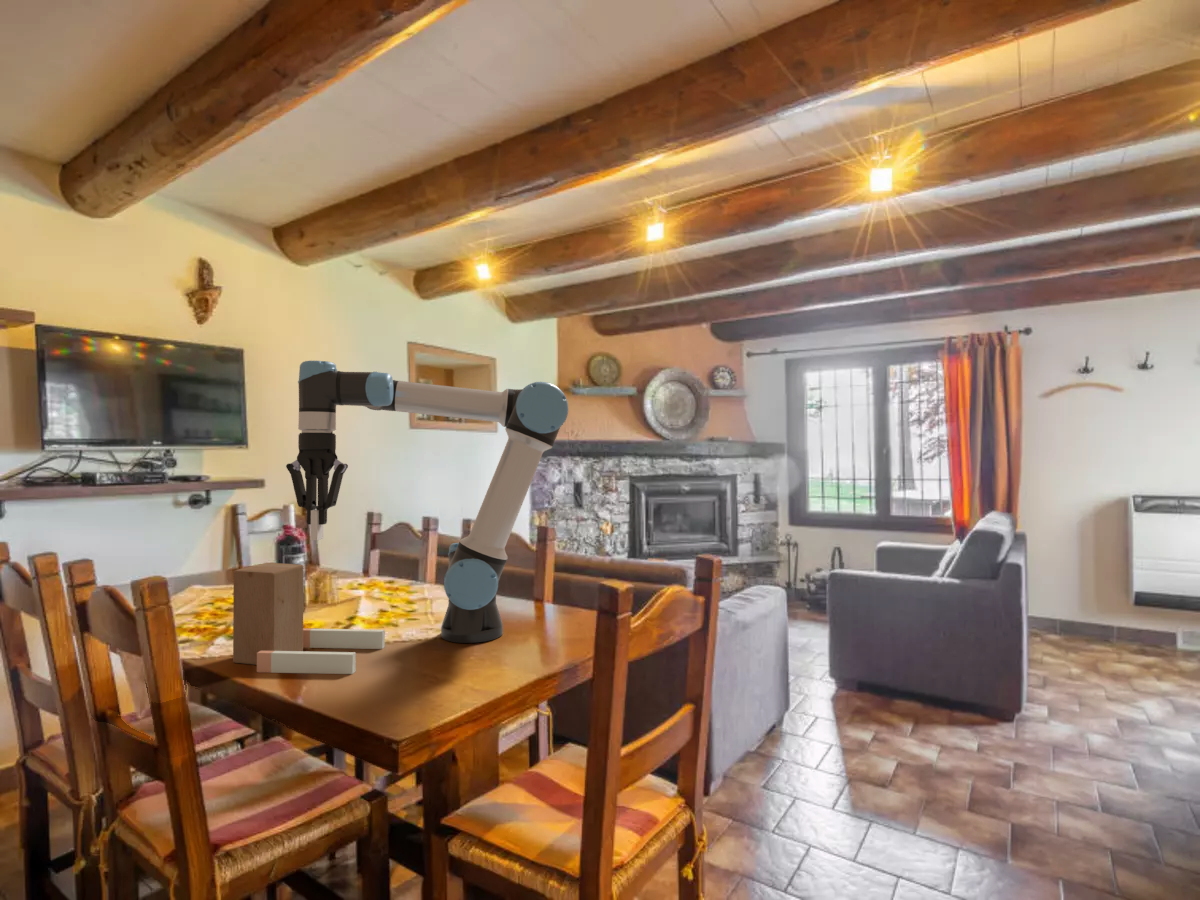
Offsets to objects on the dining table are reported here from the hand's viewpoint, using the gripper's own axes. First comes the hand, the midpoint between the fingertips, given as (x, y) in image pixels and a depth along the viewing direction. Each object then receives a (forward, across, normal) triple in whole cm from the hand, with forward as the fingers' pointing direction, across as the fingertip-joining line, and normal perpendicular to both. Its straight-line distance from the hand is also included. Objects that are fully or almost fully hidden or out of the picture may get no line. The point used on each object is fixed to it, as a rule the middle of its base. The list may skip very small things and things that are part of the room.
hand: (316, 539), depth 141 cm
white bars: (+26, -2, 0) cm, 26 cm away
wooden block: (+26, +11, 0) cm, 28 cm away
